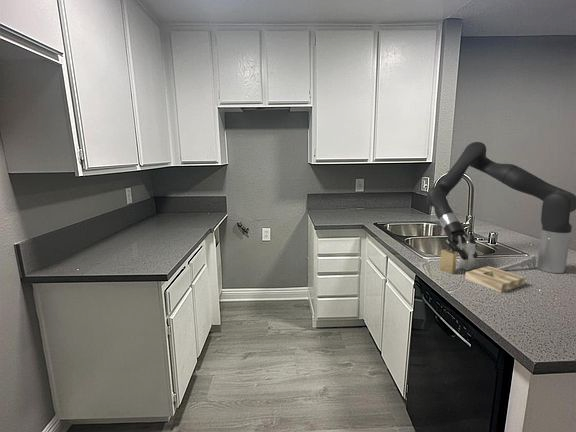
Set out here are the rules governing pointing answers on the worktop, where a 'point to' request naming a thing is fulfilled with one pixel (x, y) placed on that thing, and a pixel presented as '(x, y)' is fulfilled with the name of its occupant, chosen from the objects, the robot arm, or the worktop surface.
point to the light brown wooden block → (448, 261)
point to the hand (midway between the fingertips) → (470, 258)
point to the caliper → (521, 263)
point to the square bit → (470, 253)
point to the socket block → (495, 278)
